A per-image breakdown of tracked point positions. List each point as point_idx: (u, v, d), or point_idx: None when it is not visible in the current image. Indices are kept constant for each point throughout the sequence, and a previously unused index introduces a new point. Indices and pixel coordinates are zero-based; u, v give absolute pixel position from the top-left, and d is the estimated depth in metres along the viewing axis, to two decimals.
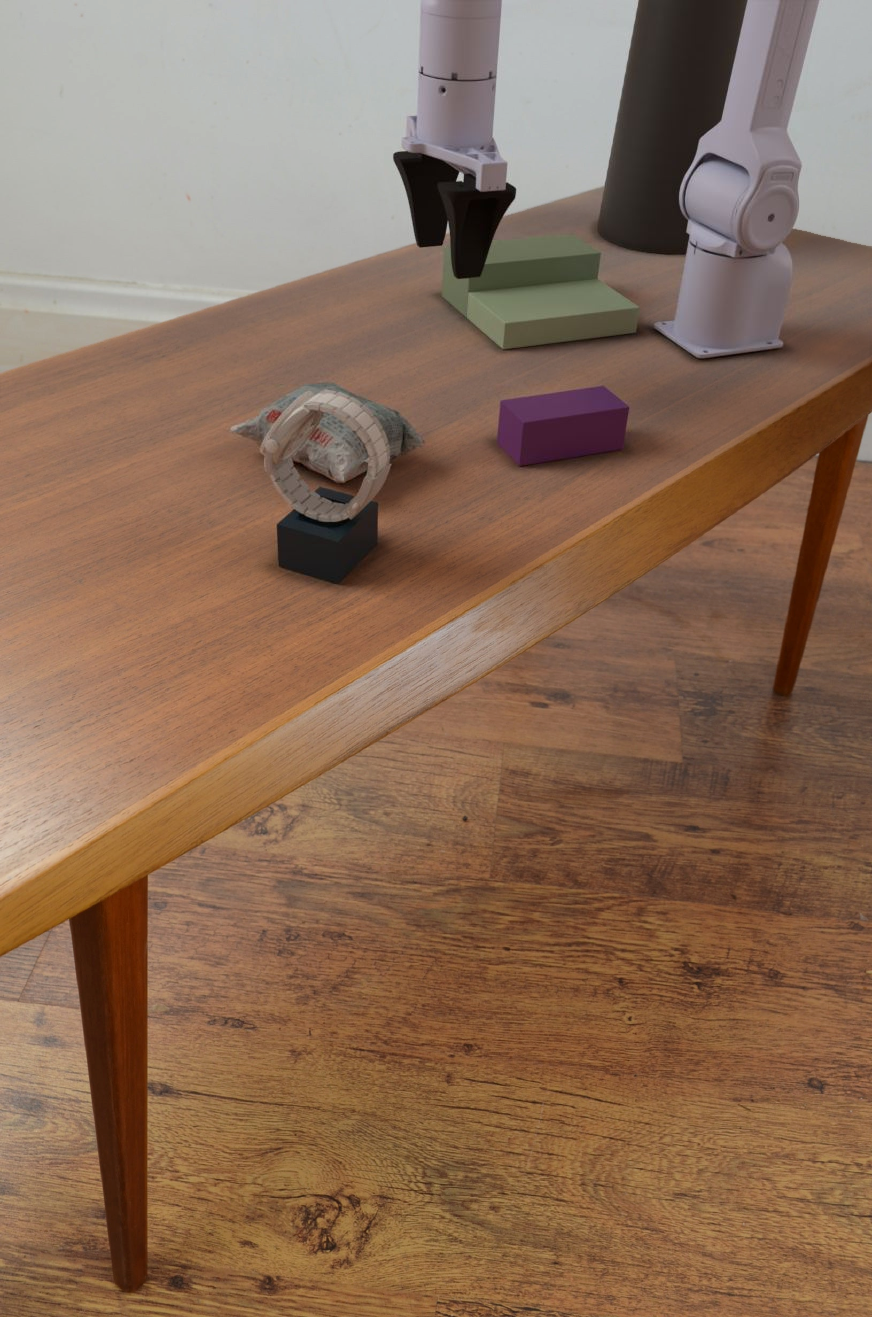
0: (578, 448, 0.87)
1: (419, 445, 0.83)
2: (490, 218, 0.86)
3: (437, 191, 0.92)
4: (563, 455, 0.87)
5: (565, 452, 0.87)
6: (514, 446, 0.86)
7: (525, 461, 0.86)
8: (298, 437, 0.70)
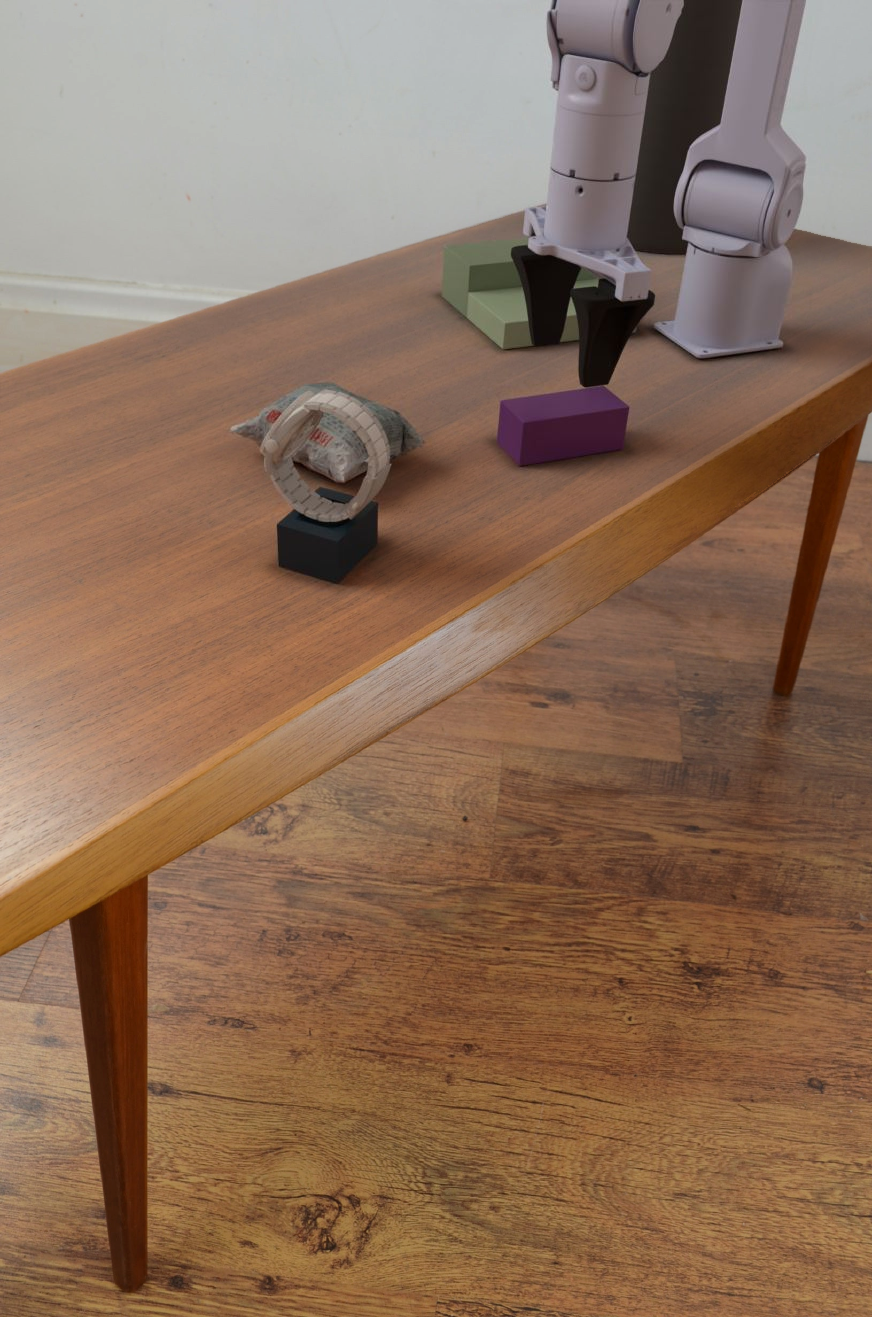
0: (578, 448, 0.87)
1: (419, 445, 0.83)
2: (624, 325, 0.79)
3: (557, 288, 0.85)
4: (563, 455, 0.87)
5: (565, 452, 0.87)
6: (514, 446, 0.86)
7: (525, 461, 0.86)
8: (298, 437, 0.70)
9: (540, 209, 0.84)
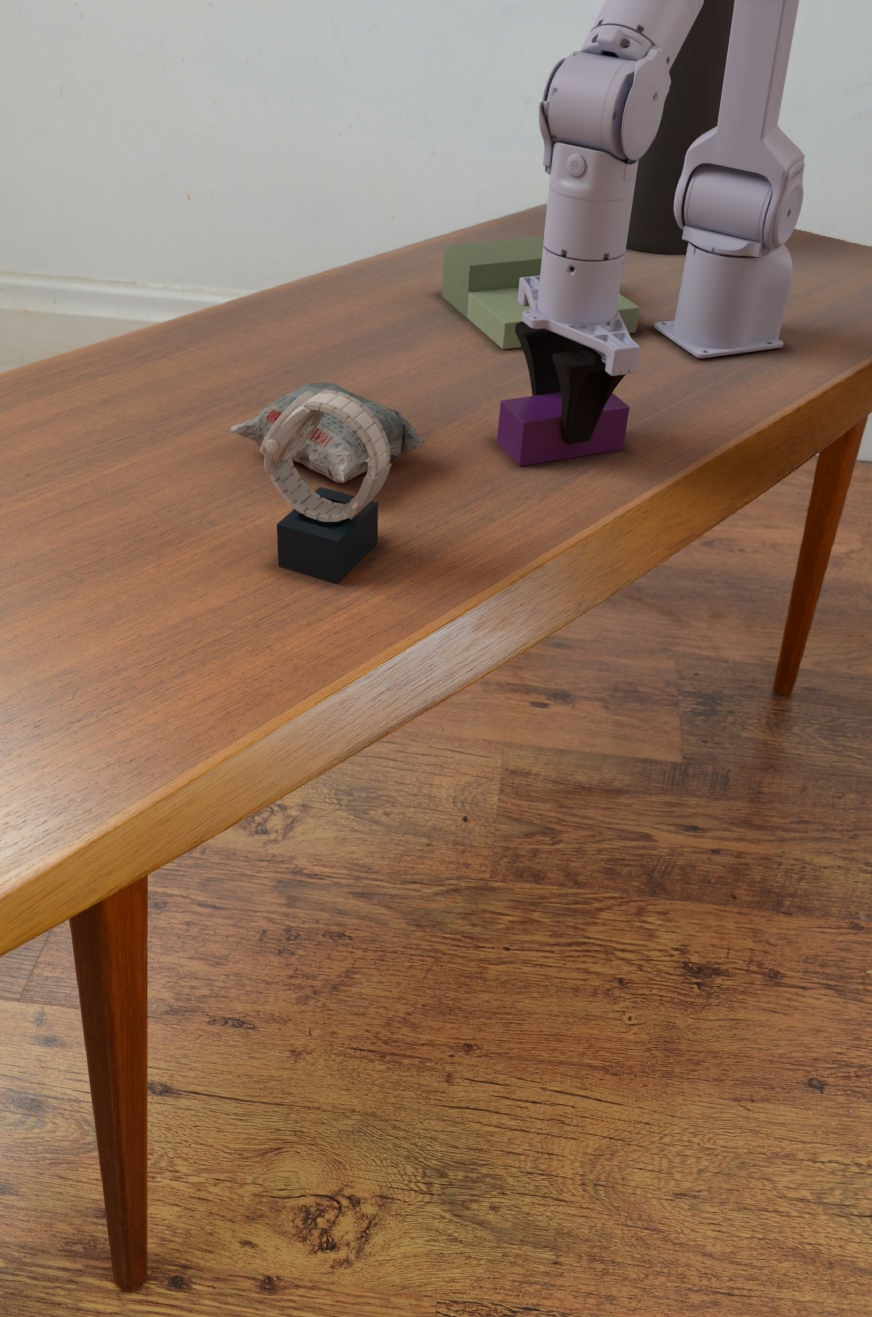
0: (578, 448, 0.87)
1: (419, 445, 0.83)
2: (604, 386, 0.83)
3: None
4: (563, 455, 0.87)
5: (565, 452, 0.87)
6: (514, 446, 0.86)
7: (525, 461, 0.86)
8: (298, 437, 0.70)
9: (534, 279, 0.87)
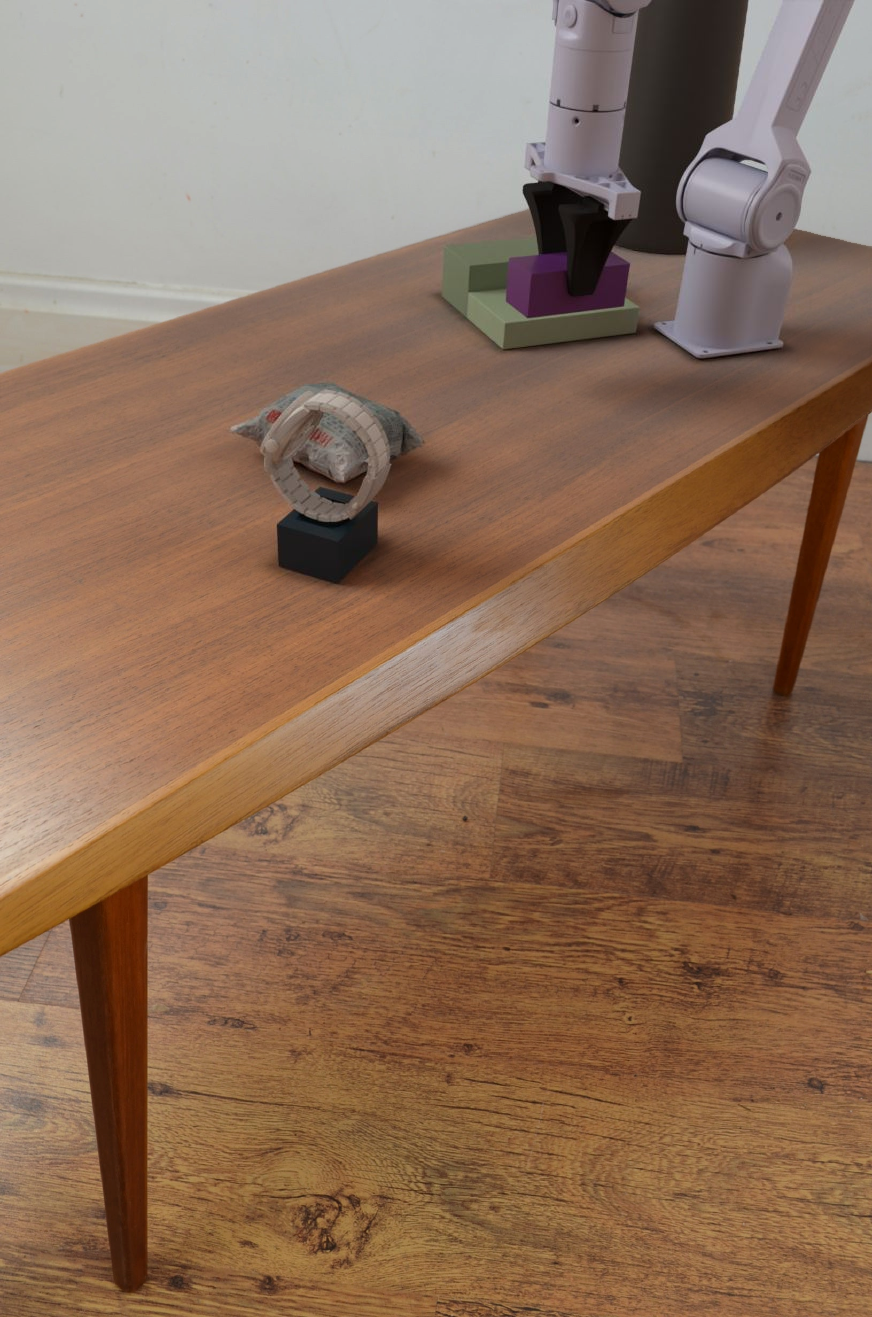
0: (582, 303, 0.93)
1: (419, 445, 0.83)
2: (607, 238, 0.89)
3: None
4: (568, 309, 0.93)
5: (570, 306, 0.93)
6: (522, 300, 0.92)
7: (533, 313, 0.92)
8: (298, 437, 0.70)
9: (540, 144, 0.93)
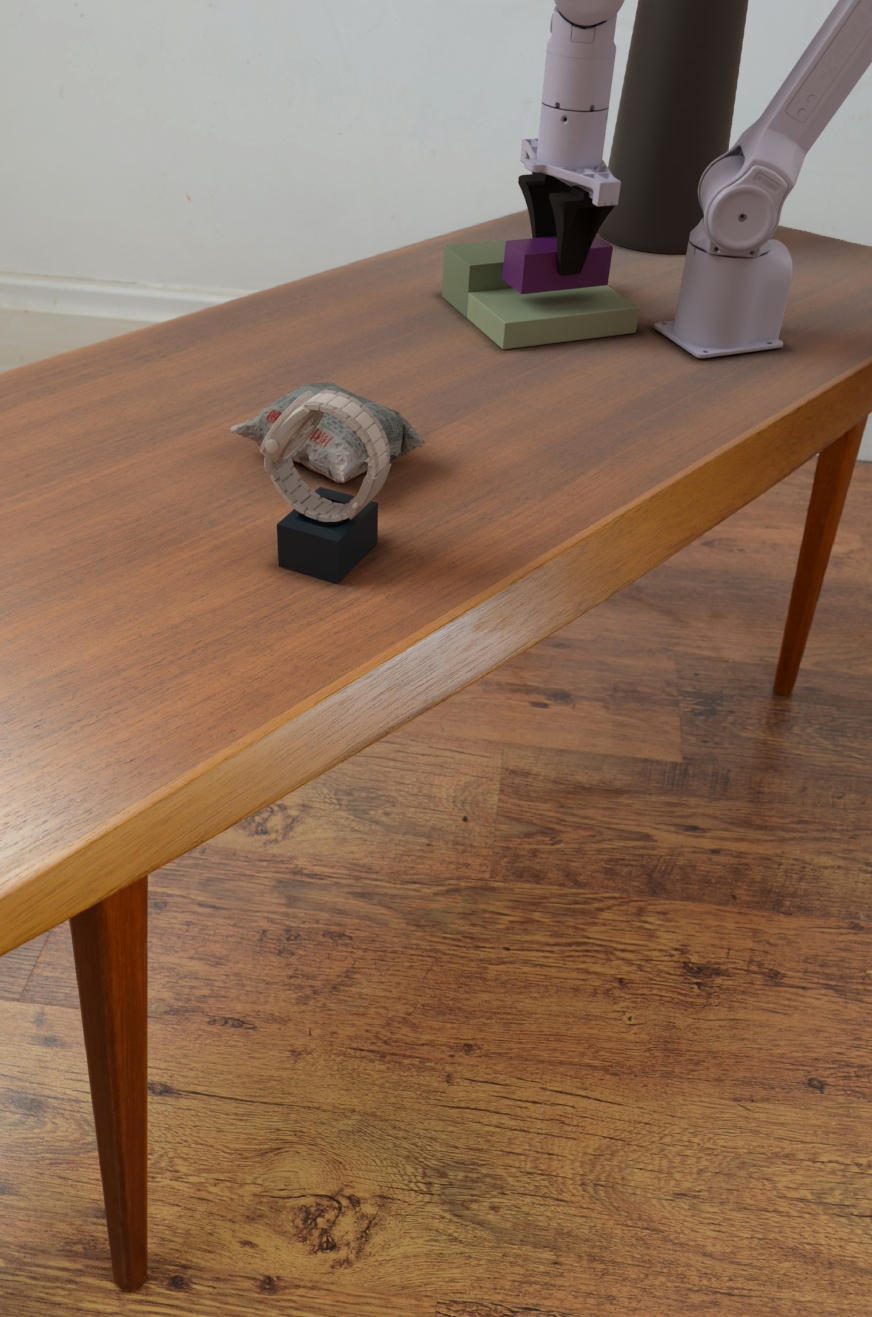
0: (570, 281, 1.05)
1: (419, 445, 0.83)
2: (592, 223, 1.01)
3: None
4: (557, 287, 1.04)
5: (559, 284, 1.04)
6: (517, 278, 1.03)
7: (526, 290, 1.03)
8: (298, 437, 0.70)
9: (534, 140, 1.05)
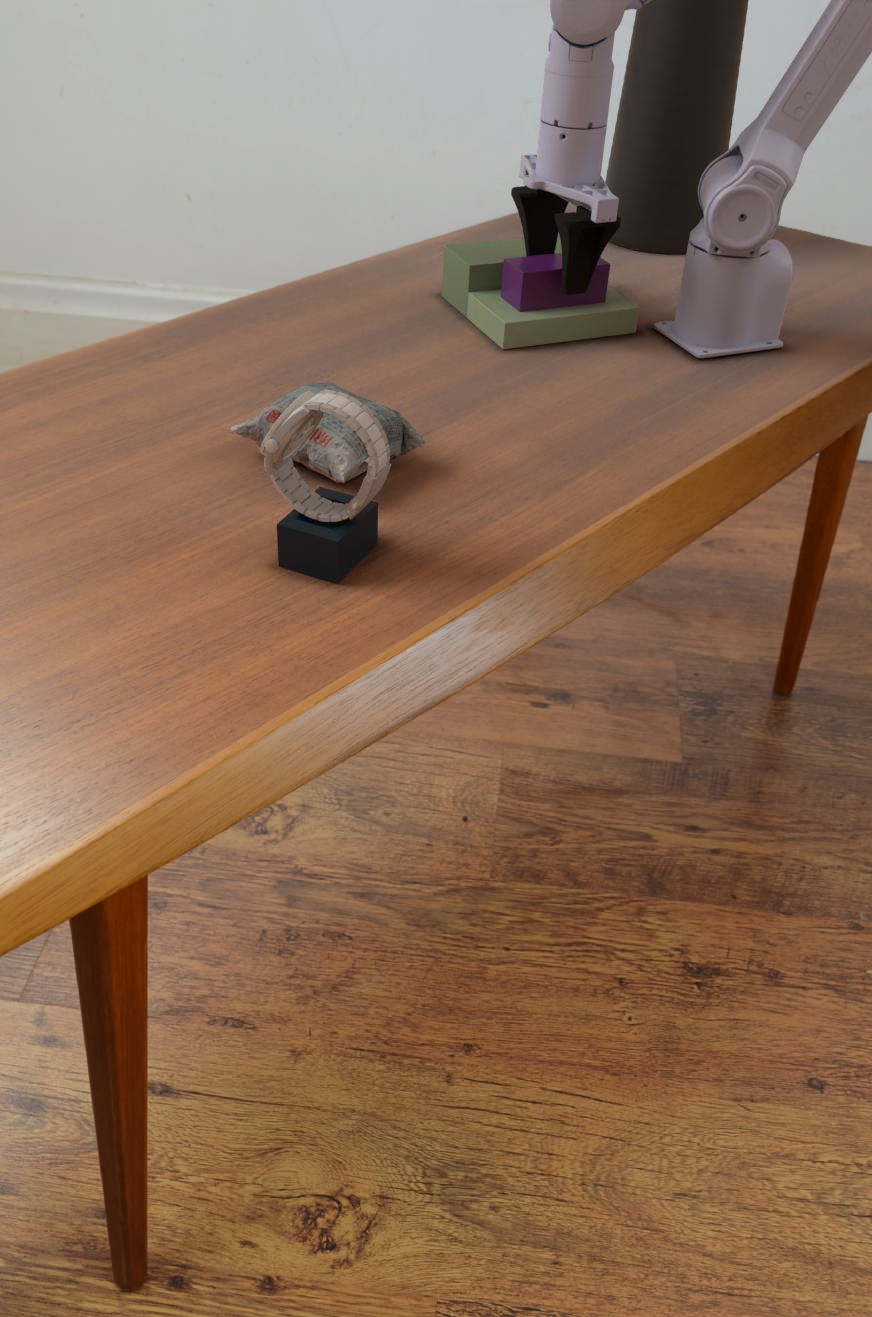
0: (568, 298, 1.06)
1: (419, 445, 0.83)
2: (597, 243, 1.01)
3: (548, 221, 1.06)
4: (555, 304, 1.05)
5: (557, 301, 1.05)
6: (515, 295, 1.04)
7: (524, 307, 1.04)
8: (298, 437, 0.70)
9: (533, 156, 1.05)
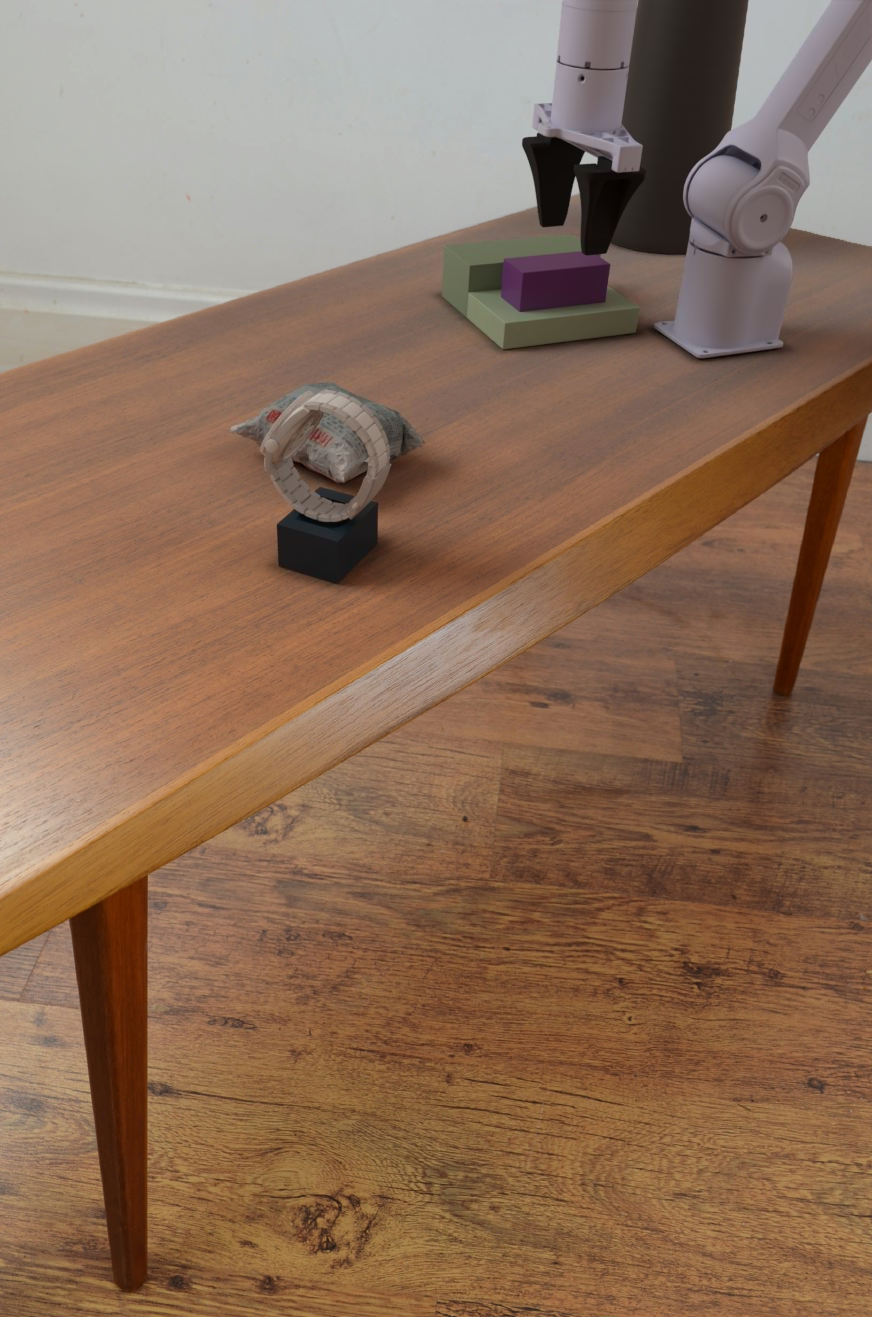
0: (568, 298, 1.06)
1: (419, 445, 0.83)
2: (620, 198, 0.92)
3: (562, 174, 0.98)
4: (555, 304, 1.05)
5: (557, 301, 1.05)
6: (515, 295, 1.04)
7: (524, 307, 1.04)
8: (298, 437, 0.70)
9: (547, 104, 0.97)
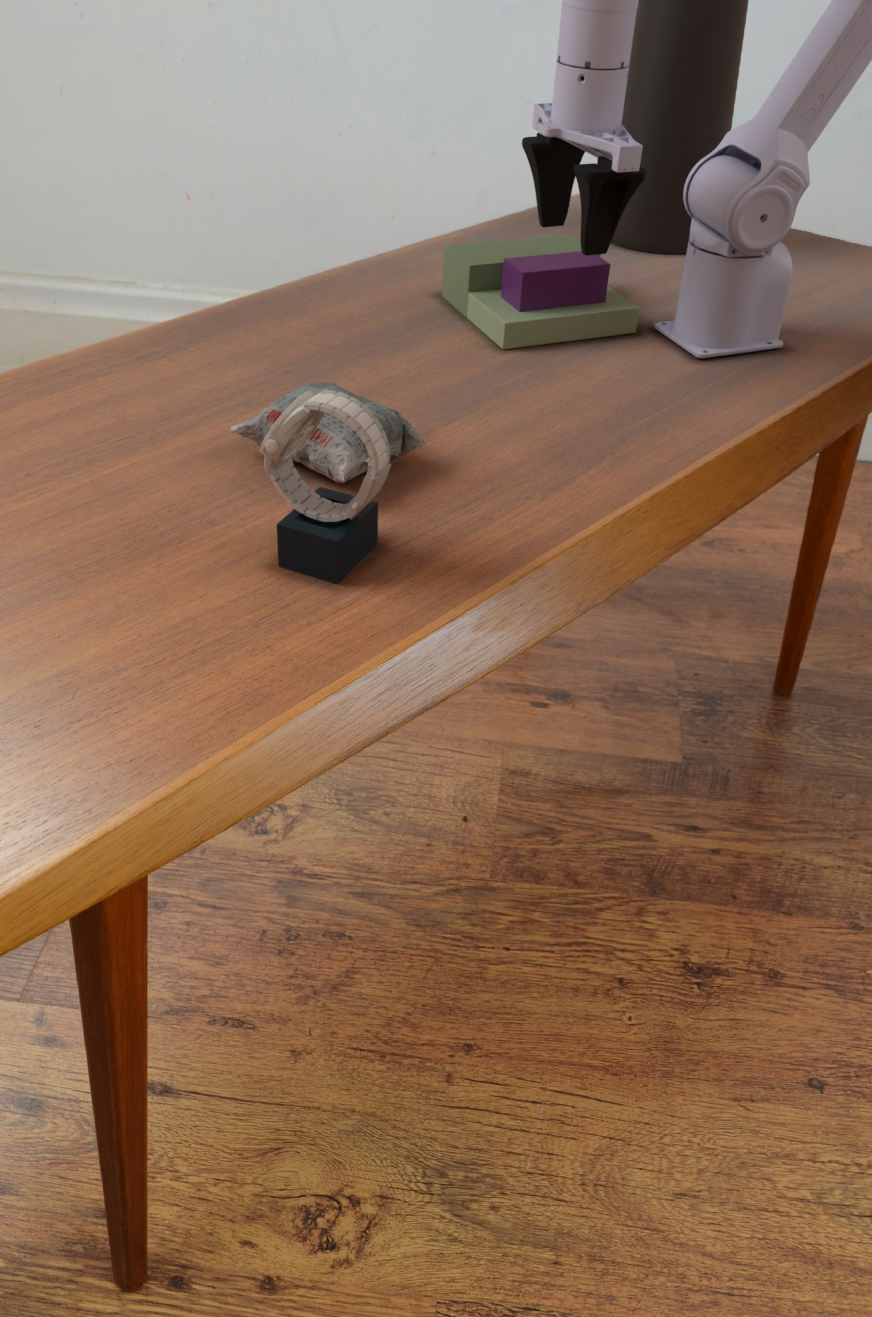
0: (568, 298, 1.06)
1: (419, 445, 0.83)
2: (620, 198, 0.92)
3: (562, 174, 0.98)
4: (555, 304, 1.05)
5: (557, 301, 1.05)
6: (515, 295, 1.04)
7: (524, 307, 1.04)
8: (298, 437, 0.70)
9: (547, 104, 0.97)
